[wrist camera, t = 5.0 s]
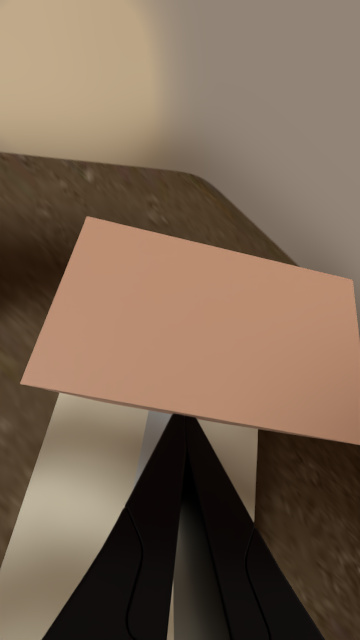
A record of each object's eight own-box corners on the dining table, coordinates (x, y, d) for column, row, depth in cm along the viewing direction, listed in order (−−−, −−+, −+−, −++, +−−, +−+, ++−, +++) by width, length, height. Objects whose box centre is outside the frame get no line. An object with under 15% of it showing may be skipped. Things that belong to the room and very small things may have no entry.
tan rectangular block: (221, 423, 14) (371, 446, 5) (101, 401, 14) (19, 383, 4) (227, 356, 16) (352, 279, 6) (119, 335, 15) (86, 216, 6)
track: (232, 703, 12) (419, 1298, 4) (-27, 682, 11) (-479, 1417, 3) (253, 335, 19) (334, 280, 11) (97, 301, 18) (62, 215, 10)
